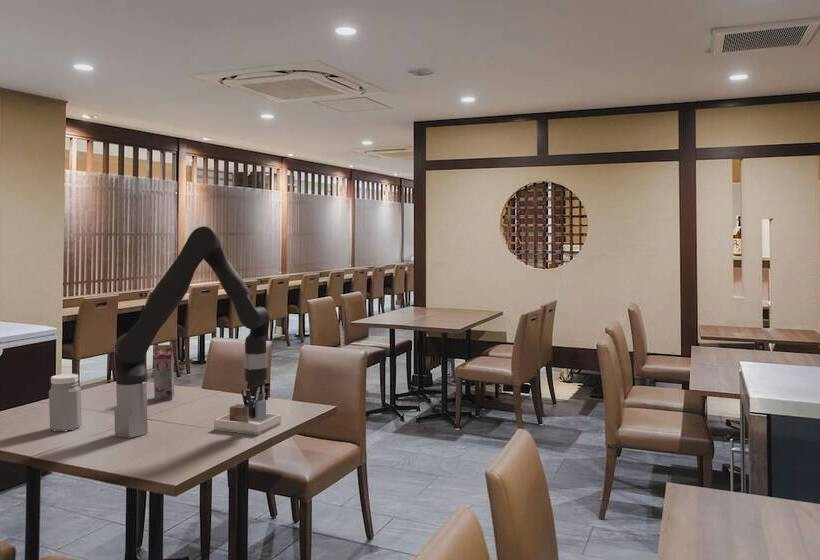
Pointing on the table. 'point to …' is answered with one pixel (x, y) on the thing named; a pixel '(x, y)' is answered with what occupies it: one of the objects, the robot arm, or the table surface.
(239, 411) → the walnut block
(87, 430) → the table surface
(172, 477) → the table surface
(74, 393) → the jar
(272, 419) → the tray
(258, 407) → the slate block
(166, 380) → the printed cardboard box
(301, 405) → the table surface
